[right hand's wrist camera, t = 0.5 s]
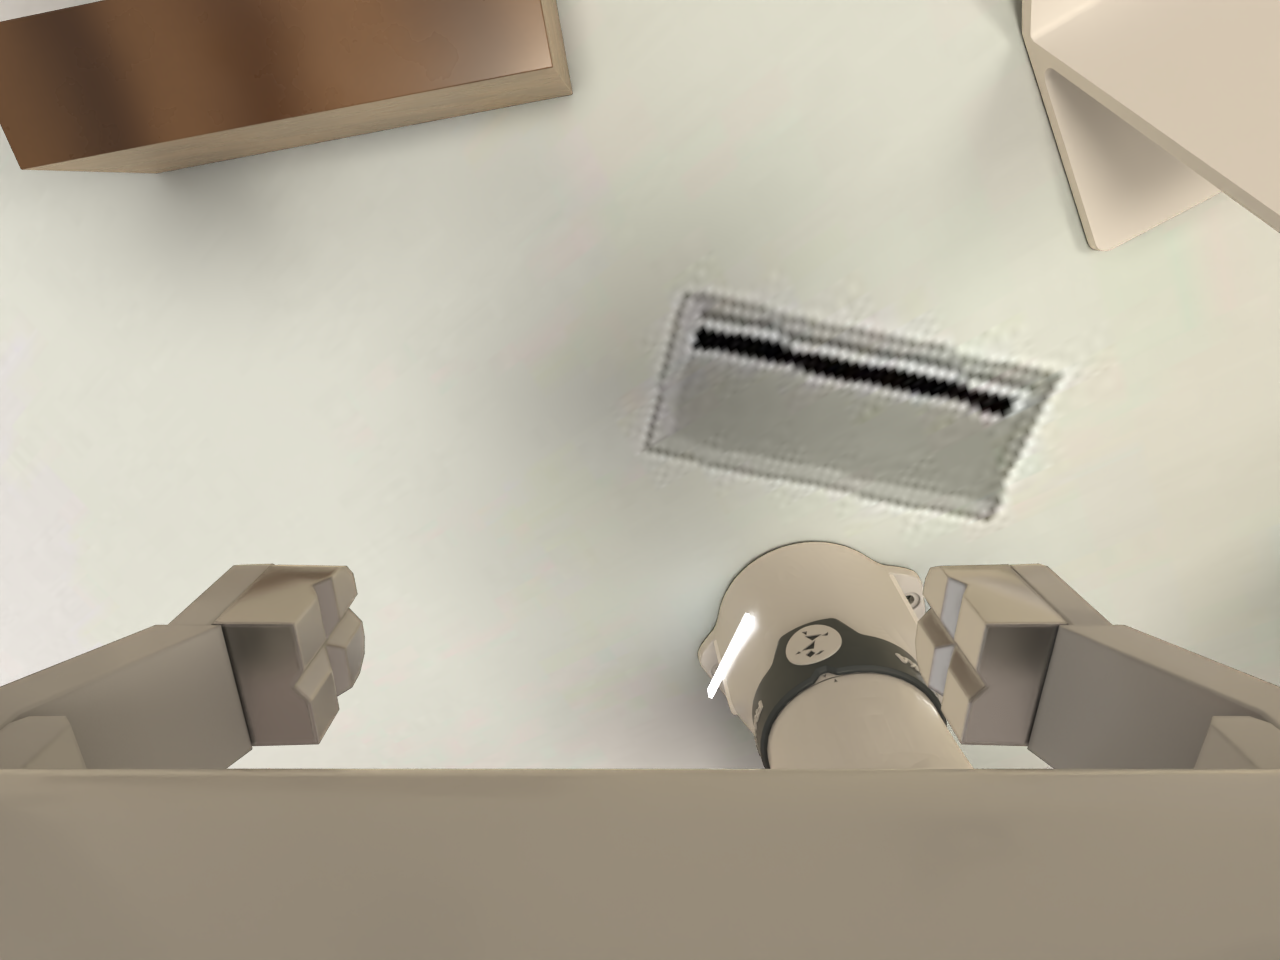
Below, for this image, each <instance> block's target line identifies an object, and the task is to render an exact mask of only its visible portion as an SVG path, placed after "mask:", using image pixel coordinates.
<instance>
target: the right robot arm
mask: <svg viewBox="0 0 1280 960" xmlns="http://www.w3.org/2000/svg"><path fill="white" fill-rule="evenodd" d="M908 595H911V596H910V598H909V599H907V598H906V596H908ZM356 596H357V589H356V584H355V579H354V574H353V573H352V571H351V570H350V569H349V568H348V567H347V566H330V565H275V564H246V565H233V566H232V567H231V568H230V569H229V570H228V571H227V572H226V573H225V574H223V575H222V576H221V577H220V578H219V579H218V580H217V581H216V582H215V583H213V584H212V585H211V586H210V587H209V588H208V589H207V590H206V591H205V592H204V593H202V594H201V595H200V596H199V597H198V598H197V599H196V600H195V601H194V602H192V603H191V604H190V605H189V606H188V607H187V608H186V609H185V610H184V611H182V612H181V613H180V614H179V615H178V616H177V617H176V618H175V619H174V620H172V621H171V622H170V623H169V624H168V625H154V626H152V627H149V628H147V629H144V630H142V631H139V632H137V633H134V634H132V635H129V636H127V637H124V638H122V639H119V640H117V641H114V642H112V643H109V644H107V645H104V646H101V647H99V648H96V649H94V650H91V651H89V652H86V653H84V654H81V655H79V656H76V657H74V658H71V659H69V660H66V661H64V662H61V663H59V664H56V665H54V666H51V667H49V668H46V669H44V670H41V671H39V672H36V673H34V674H31V675H29V676H26V677H24V678H21V679H19V680H16V681H14V682H11V683H8V684H6V685H3V686H1V687H0V960H1280V687H1279V686H1276V685H1274V684H1271V683H1269V682H1266V681H1264V680H1261V679H1259V678H1256V677H1254V676H1251V675H1249V674H1246V673H1244V672H1241V671H1239V670H1236V669H1234V668H1231V667H1229V666H1226V665H1223V664H1221V663H1218V662H1216V661H1213V660H1211V659H1208V658H1206V657H1203V656H1201V655H1198V654H1196V653H1193V652H1191V651H1188V650H1186V649H1183V648H1181V647H1178V646H1176V645H1173V644H1171V643H1168V642H1166V641H1163V640H1161V639H1158V638H1156V637H1153V636H1151V635H1148V634H1146V633H1143V632H1141V631H1138V630H1136V629H1133V628H1131V627H1128V626H1126V625H1112V624H1111V623H1110V622H1109V621H1108V620H1106V619H1105V618H1104V617H1103V616H1102V615H1101V614H1100V613H1099V612H1098V611H1097V610H1095V609H1094V608H1093V607H1092V606H1091V605H1090V604H1089V603H1088V602H1087V601H1085V600H1084V599H1083V598H1082V597H1081V596H1080V595H1079V594H1078V593H1077V592H1076V591H1074V590H1073V589H1072V588H1071V587H1070V586H1069V585H1068V584H1067V583H1066V582H1064V581H1063V580H1062V579H1061V578H1060V577H1059V576H1058V575H1057V574H1056V573H1055V572H1053V571H1052V570H1051V569H1050V568H1049V567H1048V566H1045V565H1041V564H1017V565H1009V564H1000V565H958V566H936V567H931V568H930V569H929V571H928V574H927V576H926V578H925V583H924V588H923V586H922V582H921V580H920V578H919V576H918V574H917V573H916V572H914V571H912V570H910V569H907V568H902V567H896V566H888V565H882V564H880V563H877V562H875V561H873V560H872V559H870V558H868V557H867V556H865V555H863V554H862V553H860V552H858V551H856V550H854V549H851V548H848V547H845V546H842V545H838V544H833V543H826V542H804V543H797V544H792V545H788V546H784V547H781V548H778V549H776V550H773V551H771V552H769V553H767V554H765V555H763V556H761V557H760V558H758V559H756V560H755V561H754V562H752V563H751V564H750V565H748V566H747V567H746V568H745V569H744V570H743V571H742V572H741V573H740V574H739V575H738V576H737V577H736V578H735V579H734V581H733V582H732V583H731V585H730V586H729V588H728V590H727V591H726V593H725V595H724V598H723V600H722V603H721V606H720V610H719V614H718V619H717V622H716V625H715V627H714V629H713V631H712V632H711V633H710V634H709V635H708V637H707V638H706V639H705V641H704V642H703V643H702V645H701V647H700V648H699V651H698V658H699V662H700V665H701V667H702V668H703V669H704V671H705V672H706V673H707V674H708V675H709V677H710V678H711V679H712V681H711V683H710V685H709V687H708V696H709V698H713V696H714V694H715V692H716V690H717V688H718V687H719V689H720V690H721V691H722V692H723V693H724V695H725V696H726V697H727V700H728V704H729V707H730V710H731V712H732V714H733V715H738V716H739V717H740V719H741V720H742V721H743V723H744V724H745V725H746V726H747V727H748V728H749V729H750V730H751V731H752V732H753V734H754V737H755V742H756V746H757V749H758V752H759V755H760V756H761V758H762V761H763V765H764V767H765V769H226V768H228V767H229V766H230V765H232V764H233V763H234V762H236V761H237V760H239V759H240V758H241V757H243V756H244V755H245V754H247V753H248V752H249V751H251V750H252V746H273V745H309V744H319V743H320V741H321V740H322V738H323V736H324V735H325V733H326V731H327V730H328V728H329V726H330V724H331V723H332V721H333V719H334V718H335V716H336V714H337V713H338V711H339V704H338V699H337V696H339V695H341V694H342V693H344V692H346V691H347V690H349V689H350V688H352V687H353V685H354V683H355V681H356V679H357V678H358V676H359V674H360V671H361V666H362V662H363V658H364V654H365V636H364V629H363V623H362V621H361V620H360V619H359V618H358V617H357V616H356V615H355V613H354V612H353V611H352V610H351V609H350V608H349V607H350V605H351V604H352V602H353V601H354V599H355V597H356ZM924 597H925V599H926V601H927V602H928V604H929V605H930V607H931V608H930V609H929V610H928V611H927V612H926V613H925V604H924ZM717 666H719V667H717ZM946 719H947V721H948V723H949V724H950V726H951V728H952V729H953V731H954V733H955V735H956V736H957V738H958V740H959V741H960V743H961V744H969V745H1006V746H1028V748H1027V749H1028V750H1030V751H1031V752H1032V753H1034V754H1035V755H1036V756H1038V757H1039V758H1040V759H1042V760H1043V761H1044V762H1046V763H1047V764H1048V765H1050V766H1051V767H1053V768H1054V769H974V768H973V767H972V765H971V764H970V762H969V761H968V760H967V758H966V757H965V755H964V754H963V752H962V751H961V749H960V748H959V746H958V745H957V743H956V741H955V740H954V738H953V737H952V735H951V733H950V732H949V730H948V728H947V722H946Z"/></svg>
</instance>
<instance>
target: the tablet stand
mask: <svg viewBox="0 0 1280 960" xmlns="http://www.w3.org/2000/svg"><path fill="white" fill-rule="evenodd" d="M1022 35H1023V38H1024V41H1025V45H1026V48H1027V51H1028V54H1029V57H1030V60H1031V64H1032V67H1033V70H1034V73H1035V76H1036V79H1037V83H1038V86H1039V89H1040V92H1041V95H1042V98H1043V102H1044V105H1045V108H1046V111H1047V114H1048V117H1049V121H1050V124H1051V127H1052V130H1053V133H1054V136H1055V139H1056V143H1057V146H1058V149H1059V152H1060V155H1061V158H1062V162H1063V165H1064V168H1065V171H1066V174H1067V177H1068V181H1069V184H1070V187H1071V190H1072V193H1073V196H1074V200H1075V203H1076V206H1077V209H1078V212H1079V215H1080V219H1081V222H1082V225H1083V228H1084V231H1085V234H1086V238H1087V241H1088V244H1089V246H1090V247H1091V248H1092V249H1094V250H1100V251H1109V250H1112V249H1114V248H1116V247H1118V246H1119V245H1121V244H1123V243H1125V242H1127V241H1129V240H1131V239H1133V238H1135V237H1137V236H1139V235H1141V234H1142V233H1144V232H1146V231H1148V230H1150V229H1152V228H1154V227H1156V226H1158V225H1160V224H1162V223H1163V222H1165V221H1167V220H1169V219H1171V218H1173V217H1175V216H1177V215H1179V214H1181V213H1183V212H1184V211H1186V210H1188V209H1190V208H1192V207H1194V206H1196V205H1198V204H1200V203H1202V202H1204V201H1205V200H1207V199H1209V198H1211V197H1213V196H1215V195H1217V194H1219V193H1221V192H1224V193H1225V194H1226V195H1228V196H1229V197H1230V198H1232V199H1233V200H1235V201H1236V202H1237V203H1239V204H1240V205H1242V206H1243V207H1244V208H1246V209H1247V210H1248V211H1250V212H1251V213H1253V214H1254V215H1255V216H1257V217H1258V218H1259V219H1261V220H1262V221H1264V222H1265V223H1266V224H1268V225H1269V226H1271V227H1272V228H1273V229H1275V230H1276V231H1277V232H1279V233H1280V0H1022Z"/></svg>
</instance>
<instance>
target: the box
mask: <svg viewBox="0 0 1280 960" xmlns="http://www.w3.org/2000/svg"><path fill="white" fill-rule="evenodd" d="M572 94H573V92H572V87H571V81H570V76H569V70H568V65H567V59H566V53H565V48H564V42H563V37H562V31H561V26H560V20H559V14H558V9H557V3H556V0H103V1H98V2H93V3H89V4H84V5H79V6H74V7H69V8H64V9H60V10H55V11H50V12H45V13H40V14H35V15H31V16H26V17H21V18H16V19H11V20H6V21H2V22H0V124H1V126H2V129H3V131H4V133H5V135H6V137H7V140H8V142H9V144H10V146H11V148H12V151H13V153H14V155H15V157H16V159H17V162H18V164H19V166H20V168H21V169H22V170H52V171H88V172H124V173H162V172H167V171H172V170H177V169H183V168H188V167H193V166H199V165H204V164H209V163H214V162H220V161H225V160H230V159H235V158H241V157H246V156H251V155H256V154H262V153H267V152H272V151H277V150H283V149H288V148H293V147H299V146H304V145H309V144H314V143H320V142H325V141H330V140H335V139H341V138H346V137H351V136H356V135H362V134H367V133H372V132H377V131H383V130H388V129H393V128H398V127H404V126H409V125H414V124H420V123H425V122H430V121H435V120H441V119H446V118H451V117H456V116H462V115H467V114H472V113H477V112H483V111H488V110H493V109H498V108H504V107H509V106H514V105H520V104H525V103H530V102H535V101H541V100H546V99H551V98H556V97H562V96H567V95H572Z"/></svg>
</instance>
